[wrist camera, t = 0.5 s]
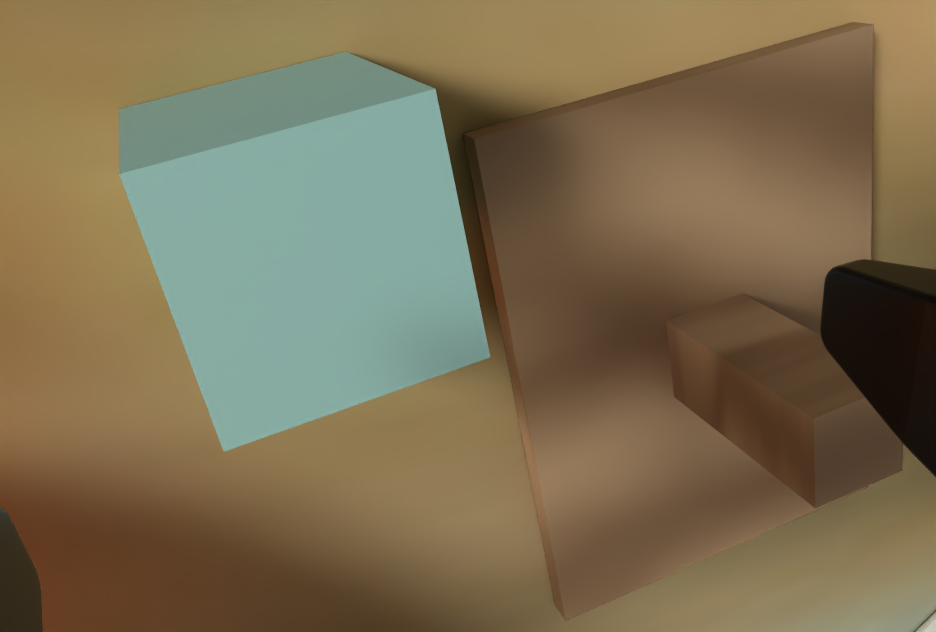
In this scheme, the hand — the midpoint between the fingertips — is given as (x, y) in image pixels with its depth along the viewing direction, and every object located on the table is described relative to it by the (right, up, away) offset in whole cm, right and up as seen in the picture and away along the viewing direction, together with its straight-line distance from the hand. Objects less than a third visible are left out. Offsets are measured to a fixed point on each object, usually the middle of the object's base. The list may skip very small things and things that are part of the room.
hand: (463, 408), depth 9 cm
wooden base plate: (+7, 0, +18) cm, 19 cm away
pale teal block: (-5, +4, +12) cm, 13 cm away
